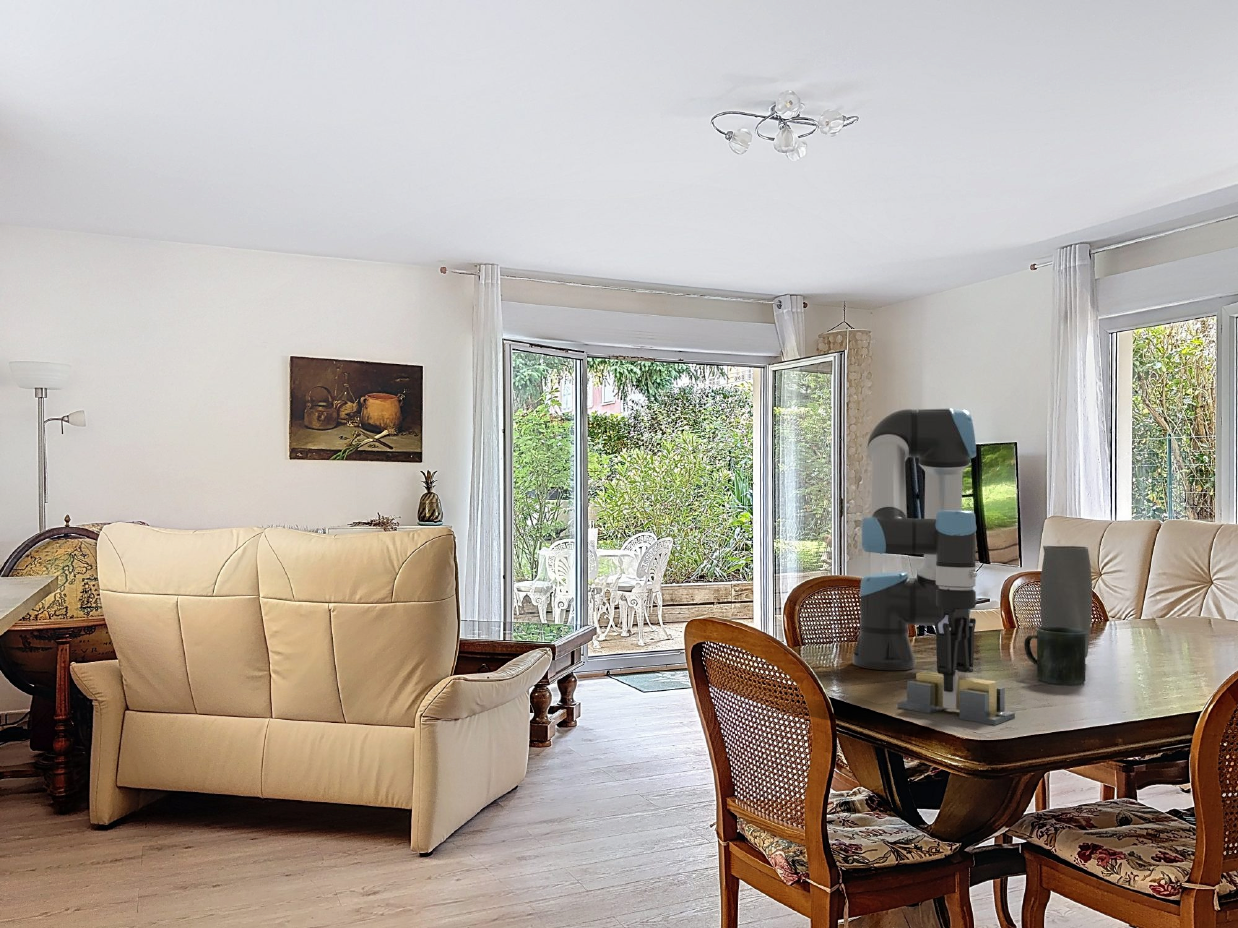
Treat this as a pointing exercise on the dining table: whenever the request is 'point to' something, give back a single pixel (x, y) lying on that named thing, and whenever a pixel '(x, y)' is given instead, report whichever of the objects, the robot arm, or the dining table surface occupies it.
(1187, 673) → the dining table surface
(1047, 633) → the mug
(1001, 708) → the grey beam support bracket
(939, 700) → the wooden beam block
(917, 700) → the grey slotted bracket
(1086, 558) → the vase
